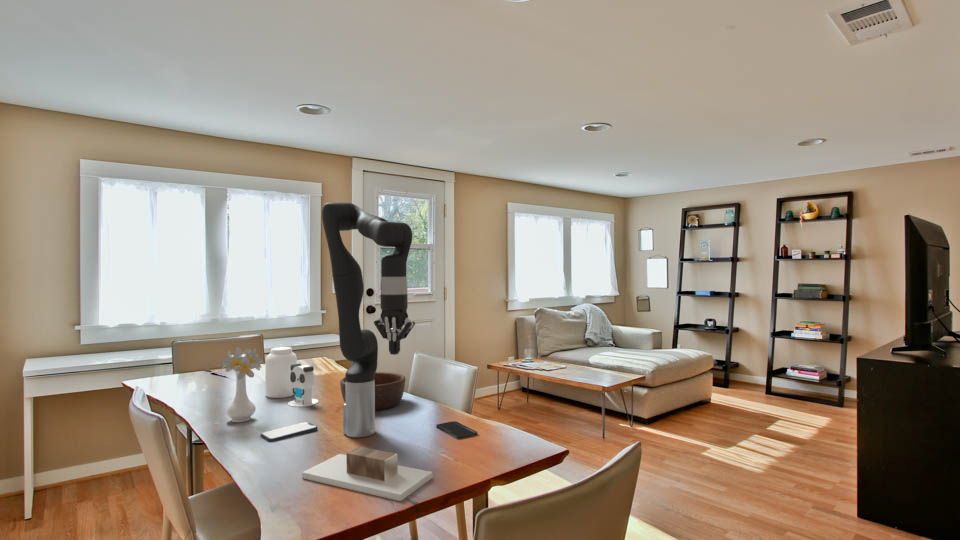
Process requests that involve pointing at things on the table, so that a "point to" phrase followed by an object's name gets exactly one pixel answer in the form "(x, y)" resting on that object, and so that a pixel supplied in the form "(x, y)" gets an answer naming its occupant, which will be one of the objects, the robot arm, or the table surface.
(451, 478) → the table surface
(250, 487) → the table surface
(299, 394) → the panda figurine
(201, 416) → the table surface
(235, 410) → the flower vase
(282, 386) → the white jar
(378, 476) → the walnut block
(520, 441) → the table surface
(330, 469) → the white board
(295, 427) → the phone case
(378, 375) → the wooden bowl
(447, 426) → the phone
